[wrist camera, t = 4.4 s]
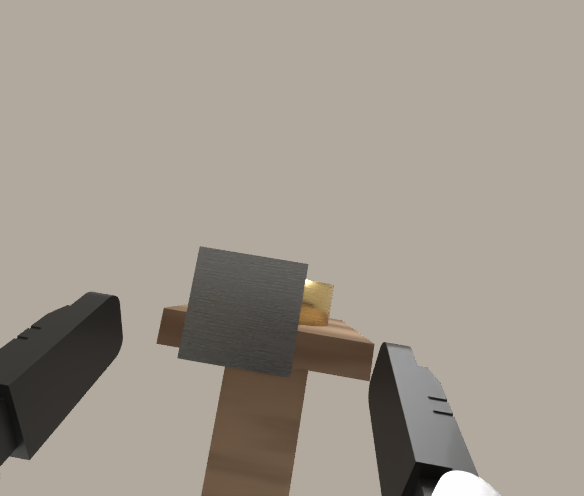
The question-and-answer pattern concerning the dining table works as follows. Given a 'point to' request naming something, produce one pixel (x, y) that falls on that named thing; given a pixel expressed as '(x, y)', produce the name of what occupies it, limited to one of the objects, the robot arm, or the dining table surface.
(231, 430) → the wooden stand
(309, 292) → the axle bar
